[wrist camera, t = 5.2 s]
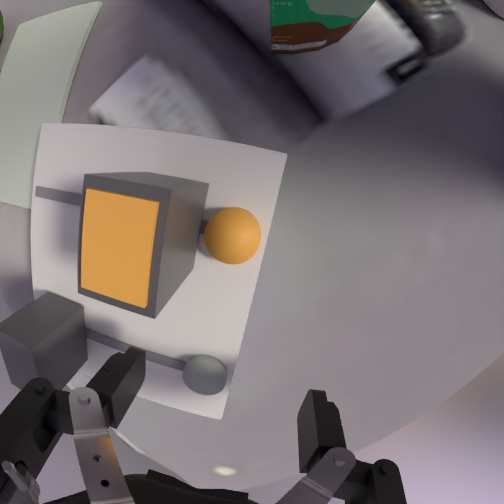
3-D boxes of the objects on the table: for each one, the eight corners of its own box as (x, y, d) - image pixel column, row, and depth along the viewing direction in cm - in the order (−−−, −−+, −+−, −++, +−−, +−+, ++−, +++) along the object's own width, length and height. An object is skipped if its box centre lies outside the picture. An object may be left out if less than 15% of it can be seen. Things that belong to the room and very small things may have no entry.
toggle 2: (209, 183, 12) (169, 189, 7) (193, 269, 13) (152, 322, 8) (147, 171, 12) (80, 174, 7) (135, 254, 13) (74, 295, 8)
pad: (102, 3, 12) (99, 0, 12) (49, 212, 16) (45, 213, 16) (22, 25, 12) (19, 24, 12) (-17, 194, 16) (-21, 195, 16)
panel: (284, 158, 15) (288, 152, 11) (226, 391, 19) (219, 428, 16) (71, 127, 15) (33, 122, 11) (62, 335, 19) (36, 359, 15)
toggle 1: (84, 306, 14) (31, 350, 10) (88, 359, 15) (47, 406, 11) (47, 291, 14) (-5, 326, 10) (54, 343, 15) (11, 383, 11)
